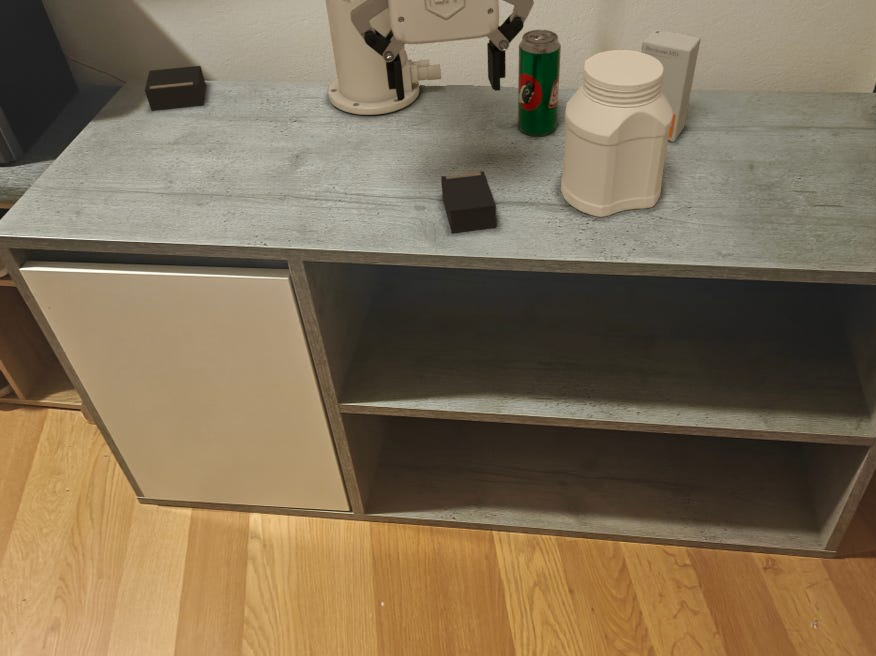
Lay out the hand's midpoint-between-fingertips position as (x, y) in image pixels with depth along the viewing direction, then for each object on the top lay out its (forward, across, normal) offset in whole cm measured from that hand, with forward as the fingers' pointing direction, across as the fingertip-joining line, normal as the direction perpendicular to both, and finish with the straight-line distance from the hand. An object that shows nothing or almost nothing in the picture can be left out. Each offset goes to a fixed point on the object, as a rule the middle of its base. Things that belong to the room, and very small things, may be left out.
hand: (447, 89), depth 81 cm
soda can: (+15, +13, +17) cm, 26 cm away
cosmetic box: (+15, +28, +13) cm, 35 cm away
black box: (+15, +2, 0) cm, 15 cm away
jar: (+15, +19, +1) cm, 24 cm away
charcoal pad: (+14, -34, +35) cm, 51 cm away
